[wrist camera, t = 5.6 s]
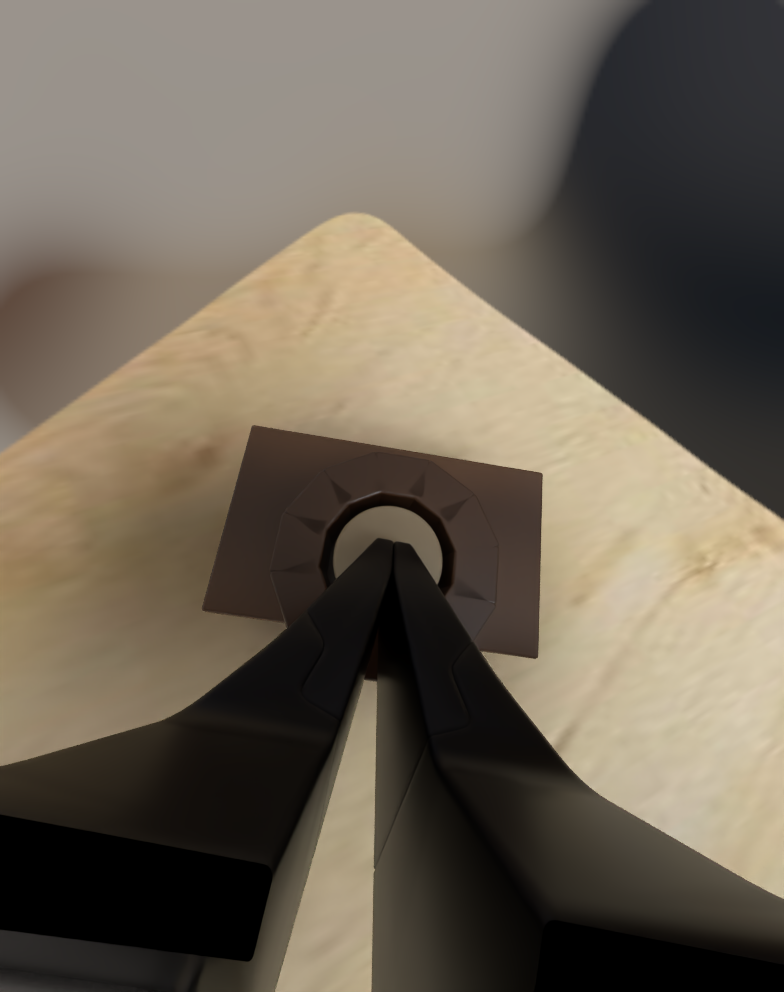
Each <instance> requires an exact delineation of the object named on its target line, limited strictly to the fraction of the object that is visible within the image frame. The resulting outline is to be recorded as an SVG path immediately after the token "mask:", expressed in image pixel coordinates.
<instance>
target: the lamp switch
mask: <svg viewBox="0 0 784 992" xmlns="http://www.w3.org/2000/svg"><path fill="white" fill-rule="evenodd" d="M377 538H383V539H389V540H392V541H393V542H396V541H399V542H404V543H409V544H411V545H412V546H413V548H414V549H415V551H416V552H417V554H418V556H419V557H420V559H421V560H422V562H423V563H424V565H425V566H426V568H427V570H428V571H429V573H430V574H431V576H432V577H433V579H434V580H435V582H436V584H438V582H439V580H440V576H441V572H442V562H443V559H442V551H441V546H440V543H439V541H438V538H437V536H436V534H435V532H434V531H433V530H432V528H431V527H430V526H429V524H428V523H427V522H426V521H425V520H424V519H422V518H421V517H420V516H418V515H417V514H416V513H414V512H412V511H410V510H407V509H404V508H401V507H397V506H378V507H373V508H370V509H367V510H365V511H363V512H361V513H359V514H358V515H356V516H355V517H354V518H352V519H351V520H350V521H349V522H348V523H347V524H346V525H345V527H344V528H343V529H342V531H341V533H340V534H339V536H338V538H337V541H336V543H335V547H334V552H333V569H334V574H335V578H336V579H337V578H338V577H339V576H340V575H341V574H342V573H343V572H344V571H345V570H346V569H347V568H348V567H349V566H350V565H351V564H352V563H353V562H354V561H355V560H356V559H357V558H358V557H359V556H360V555H361V554H362V553H363V552H364V551H365V550H366V548H367V547H368V546H369V545H370V544H371V543H372V542H373V541H374V540H375V539H377Z"/></svg>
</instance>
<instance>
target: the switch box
mask: <svg viewBox="0 0 784 992" xmlns="http://www.w3.org/2000/svg"><path fill="white" fill-rule="evenodd" d="M542 477H543V475H542V473H539V472H533V471H527V470H521V469H514V468H508V467H502V466H496V465H490V464H484V463H478V462H472V461H466V460H460V459H454V458H448V457H442V456H436V455H430V454H424V453H418V452H412V451H406V450H400V449H394V448H388V447H382V446H376V445H370V444H364V443H357V442H351V441H345V440H339V439H333V438H327V437H321V436H315V435H309V434H303V433H297V432H291V431H285V430H279V429H273V428H267V427H261V426H255V425H254V426H252V428H251V432H250V435H249V439H248V442H247V446H246V450H245V453H244V457H243V461H242V464H241V468H240V472H239V475H238V479H237V482H236V486H235V490H234V493H233V497H232V501H231V504H230V508H229V512H228V515H227V519H226V522H225V526H224V530H223V533H222V537H221V541H220V544H219V548H218V552H217V555H216V559H215V562H214V566H213V570H212V573H211V577H210V581H209V584H208V588H207V592H206V595H205V599H204V603H203V606H202V610H203V611H204V612H211V613H218V614H225V615H232V616H239V617H246V618H253V619H260V620H267V621H274V622H281V623H285V624H286V627H287V628H288V627H289V626H290V625H291V624H292V623H293V622H294V621H295V620H296V619H297V618H298V617H299V616H300V615H301V614H302V613H303V612H304V611H306V609H307V608H308V607H309V606H310V605H311V604H312V603H313V602H314V601H315V600H316V599H317V598H318V597H319V596H320V595H321V594H322V593H323V592H324V591H325V590H326V589H327V588H328V587H329V586H330V585H331V584H332V583H333V582H334V581H335V580H336V578H335V574H334V569H333V552H334V547H335V543H336V541H337V538H338V536H339V534H340V533H341V531H342V529H343V528H344V527H345V525H346V524H347V523H348V522H349V521H350V520H351V519H352V518H354V517H355V516H356V515H358V514H359V513H361V512H363V511H365V510H367V509H370V508H373V507H378V506H397V507H401V508H404V509H407V510H410V511H412V512H414V513H416V514H417V515H418V516H420V517H421V518H422V519H424V520H425V521H426V522H427V523H428V524H429V526H430V527H431V528H432V530H433V531H434V532H435V534H436V536H437V538H438V541H439V543H440V546H441V551H442V559H443V562H442V572H441V576H440V580H439V582H438V584H437V585H438V587H439V588H440V590H441V591H442V593H443V594H444V596H445V598H446V599H447V601H448V602H449V604H450V605H451V607H452V608H453V610H454V612H455V613H456V615H457V616H458V618H459V619H460V621H461V622H462V624H463V626H464V627H465V629H466V630H467V632H468V633H469V635H470V636H471V638H472V642H474V643H475V644H476V646H477V647H478V649H479V650H480V651H484V652H491V653H498V654H505V655H512V656H519V657H526V658H533V659H536V658H538V642H539V601H540V559H541V518H542ZM378 631H379V627H378ZM378 631H377V635H376V639H375V643H374V646H373V650H372V653H371V657H370V660H369V664H368V667H367V671H366V674H365V678H364V680H368V681H375V682H377V670H378Z"/></svg>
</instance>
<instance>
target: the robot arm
mask: <svg viewBox="0 0 784 992" xmlns="http://www.w3.org/2000/svg"><path fill="white" fill-rule="evenodd" d="M378 627H379V631H378ZM377 631H378V670H377V725H376V779H375V834H374V869H375V871H374V884H373V940H372V992H784V899H782V898H780V897H778V896H776V895H774V894H772V893H770V892H768V891H766V890H764V889H762V888H760V887H758V886H756V885H755V884H753V883H751V882H749V881H747V880H745V879H744V878H742V877H740V876H738V875H737V874H735V873H733V872H731V871H730V870H728V869H726V868H724V867H723V866H721V865H719V864H718V863H716V862H714V861H712V860H711V859H709V858H707V857H705V856H704V855H702V854H700V853H698V852H697V851H695V850H693V849H692V848H690V847H688V846H686V845H685V844H683V843H681V842H679V841H678V840H676V839H674V838H672V837H671V836H669V835H667V834H666V833H664V832H662V831H660V830H659V829H657V828H655V827H653V826H652V825H650V824H648V823H646V822H645V821H643V820H641V819H640V818H638V817H636V816H634V815H633V814H631V813H629V812H627V811H626V810H624V809H622V808H620V807H619V806H617V805H615V804H614V803H612V802H610V801H608V800H607V799H605V798H604V797H602V796H600V795H599V794H598V793H596V792H595V791H594V790H592V789H591V788H590V787H589V786H588V785H586V784H585V783H584V782H583V781H582V780H581V779H580V778H579V777H578V776H577V775H576V774H575V773H574V772H573V771H572V770H571V769H570V768H569V767H568V765H567V764H566V763H565V762H564V761H563V760H562V758H561V757H560V756H559V755H558V753H557V752H556V751H555V750H554V748H553V747H552V746H551V745H550V743H549V742H548V741H547V740H546V738H545V737H544V736H543V734H542V733H541V732H540V731H539V729H538V728H537V727H536V726H535V724H534V723H533V722H532V721H531V719H530V718H529V717H528V716H527V714H526V713H525V712H524V711H523V709H522V708H521V707H520V706H519V704H518V703H517V702H516V700H515V699H514V698H513V697H512V695H511V694H510V693H509V691H508V690H507V689H506V687H505V686H504V685H503V683H502V682H501V681H500V679H499V678H498V677H497V675H496V674H495V672H494V671H493V670H492V668H491V667H490V665H489V664H488V662H487V661H486V659H485V658H484V656H483V655H482V653H481V652H480V650H479V649H478V647H477V646H476V644H475V643H474V642H472V638H471V636H470V635H469V633H468V632H467V630H466V629H465V627H464V626H463V624H462V622H461V621H460V619H459V618H458V616H457V615H456V613H455V612H454V610H453V608H452V607H451V605H450V604H449V602H448V601H447V599H446V598H445V596H444V594H443V593H442V591H441V590H440V588H439V587H438V585H437V584H436V582H435V580H434V579H433V577H432V576H431V574H430V573H429V571H428V570H427V568H426V566H425V565H424V563H423V562H422V560H421V559H420V557H419V556H418V554H417V552H416V551H415V549H414V548H413V546H412V545H411V544H409V543H404V542H399V541H396V542H393V541H392V540H389V539H383V538H377V539H375V540H374V541H373V542H372V543H371V544H370V545H369V546H368V547H367V548H366V550H365V551H364V552H363V553H362V554H361V555H360V556H359V557H358V558H357V559H356V560H355V561H354V562H353V563H352V564H351V565H350V566H349V567H348V568H347V569H346V570H345V571H344V572H343V573H342V574H341V575H340V576H339V577H338V578H337V579H336V580H335V581H334V582H333V583H332V584H331V585H330V586H329V587H328V588H327V589H326V590H325V591H324V592H323V593H322V594H321V595H320V596H319V597H318V598H317V599H316V600H315V601H314V602H313V603H312V604H311V605H310V606H309V607H308V608H307V609H306V611H304V612H303V613H302V614H301V615H300V616H299V617H298V618H297V619H296V620H295V621H294V622H293V623H292V624H291V625H290V626H289V627H288V628H287V629H286V630H284V631H283V632H282V633H281V634H280V635H279V636H278V637H277V638H276V639H275V640H273V641H272V642H271V643H270V644H268V645H267V646H266V647H265V648H264V649H262V650H261V651H260V652H259V653H257V654H256V655H255V656H254V657H252V658H251V659H250V660H249V661H247V662H246V663H245V664H243V665H242V666H241V667H240V668H238V669H237V670H236V671H234V672H233V673H232V674H231V675H229V676H228V677H227V678H225V679H224V680H223V681H222V682H220V683H219V684H218V685H216V686H215V687H214V688H212V689H211V690H210V691H209V692H207V693H206V694H205V695H203V696H202V697H201V698H200V699H198V700H197V701H195V702H194V703H193V704H191V705H190V706H188V707H186V708H185V709H183V710H182V711H180V712H178V713H176V714H174V715H172V716H171V717H168V718H166V719H164V720H162V721H159V722H156V723H153V724H149V725H146V726H142V727H139V728H135V729H132V730H128V731H125V732H121V733H118V734H114V735H111V736H108V737H104V738H101V739H97V740H94V741H90V742H87V743H83V744H80V745H76V746H73V747H69V748H66V749H62V750H59V751H56V752H52V753H49V754H45V755H42V756H38V757H35V758H31V759H28V760H24V761H20V762H16V763H12V764H8V765H4V766H0V992H275V989H276V985H277V982H278V978H279V975H280V971H281V968H282V964H283V961H284V957H285V954H286V950H287V947H288V943H289V940H290V936H291V933H292V929H293V926H294V922H295V919H296V915H297V912H298V908H299V905H300V901H301V898H302V894H303V891H304V887H305V884H306V880H307V877H308V873H309V870H310V866H311V863H312V858H313V856H314V852H315V849H316V845H317V842H318V838H319V835H320V831H321V828H322V824H323V821H324V817H325V814H326V810H327V807H328V803H329V800H330V796H331V793H332V789H333V786H334V783H335V779H336V776H337V772H338V769H339V765H340V762H341V758H342V755H343V751H344V748H345V744H346V741H347V737H348V734H349V730H350V727H351V723H352V720H353V716H354V713H355V709H356V706H357V702H358V699H359V695H360V692H361V688H362V685H363V681H364V678H365V674H366V671H367V667H368V664H369V660H370V657H371V653H372V650H373V646H374V643H375V639H376V635H377Z"/></svg>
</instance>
